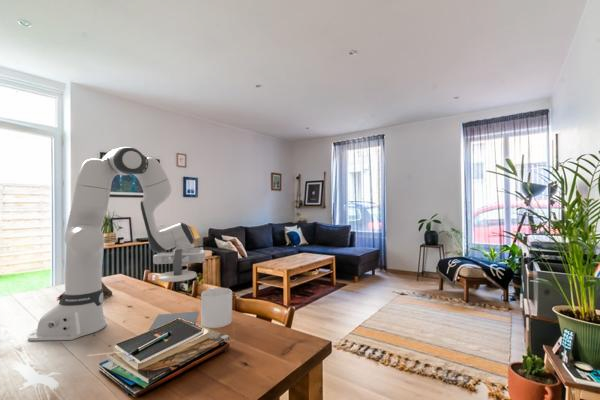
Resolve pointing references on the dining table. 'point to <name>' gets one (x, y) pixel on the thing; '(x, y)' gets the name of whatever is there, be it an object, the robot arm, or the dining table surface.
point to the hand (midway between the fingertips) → (177, 261)
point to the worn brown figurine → (106, 291)
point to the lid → (177, 270)
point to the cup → (216, 307)
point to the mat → (173, 318)
